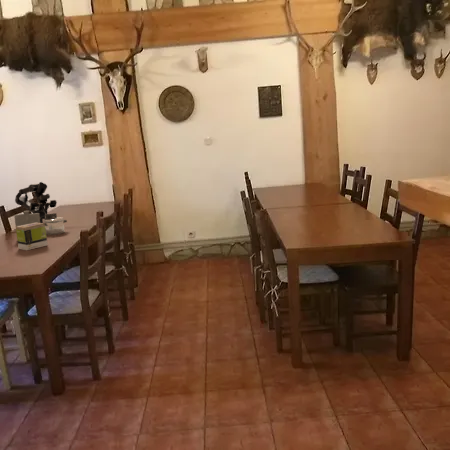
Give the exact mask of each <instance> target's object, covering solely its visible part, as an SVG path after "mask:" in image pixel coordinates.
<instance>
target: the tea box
mask: <svg viewBox="0 0 450 450" xmlns="http://www.w3.org/2000/svg"><path fill="white" fill-rule="evenodd" d="M15 232H16V233H17V234H16V239H17V240H18V241H17V245H18V246H17V247H18V249H19V250H21V251H22V250H23V251H30V250H34V249H37V248H42V247H46V246H48V245H49V244H48V235H47V234H46V229H45V224H44V222H43V223H37V222H36V223H31V224H26V225H21V226H17V227H16V226H15Z"/></svg>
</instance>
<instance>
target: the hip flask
mask: <svg viewBox="0 0 450 450" xmlns="http://www.w3.org/2000/svg"><path fill="white" fill-rule="evenodd" d="M13 217H14V225H15V228H16V227H17V226H21V225H26V224H31V223H36V222H37V223H40V216H39V213H34V214H33V213H30V211H29V210H24V211H23V213H20V214H14V216H13ZM16 235H17V233H16ZM17 242H18V240H17Z"/></svg>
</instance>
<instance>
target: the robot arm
mask: <svg viewBox="0 0 450 450" xmlns="http://www.w3.org/2000/svg"><path fill="white" fill-rule="evenodd" d="M47 189H48V185H47V184H46V183H45V182H43V181H41V182H39V183H34V184H32V183H31V184H29V185H28V187H24V188H21V189H19V190H18V193H17V194H16V195H15V199H14V203H16V205H17V206H23V207H24V208H25V209H27V211H29V212H31V214H34V213H39V216H40V223H44V219H45V215H46V214H48V211H49V210H48V209H49V207H50V208H51V209H52V208H56V206H57V203H58V202H57V200H56V199H52V200H50V201H49V202H48V199H50V198H51V195H50V193H46V191H47ZM29 193H34V196H33V197H35V198H36V202H30V201H29V200H28V199H29V196H28V194H29ZM45 193H46V194H45ZM22 195H23V196H22Z"/></svg>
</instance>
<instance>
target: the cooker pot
mask: <svg viewBox="0 0 450 450" xmlns="http://www.w3.org/2000/svg"><path fill="white" fill-rule="evenodd" d="M43 223H44V224H45V229H46V236H50V235H51V236H54V235H61V234H65V232H66V231H65V223H68V220H67V219H64V220H62V221H57V222H44V221H43Z"/></svg>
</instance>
